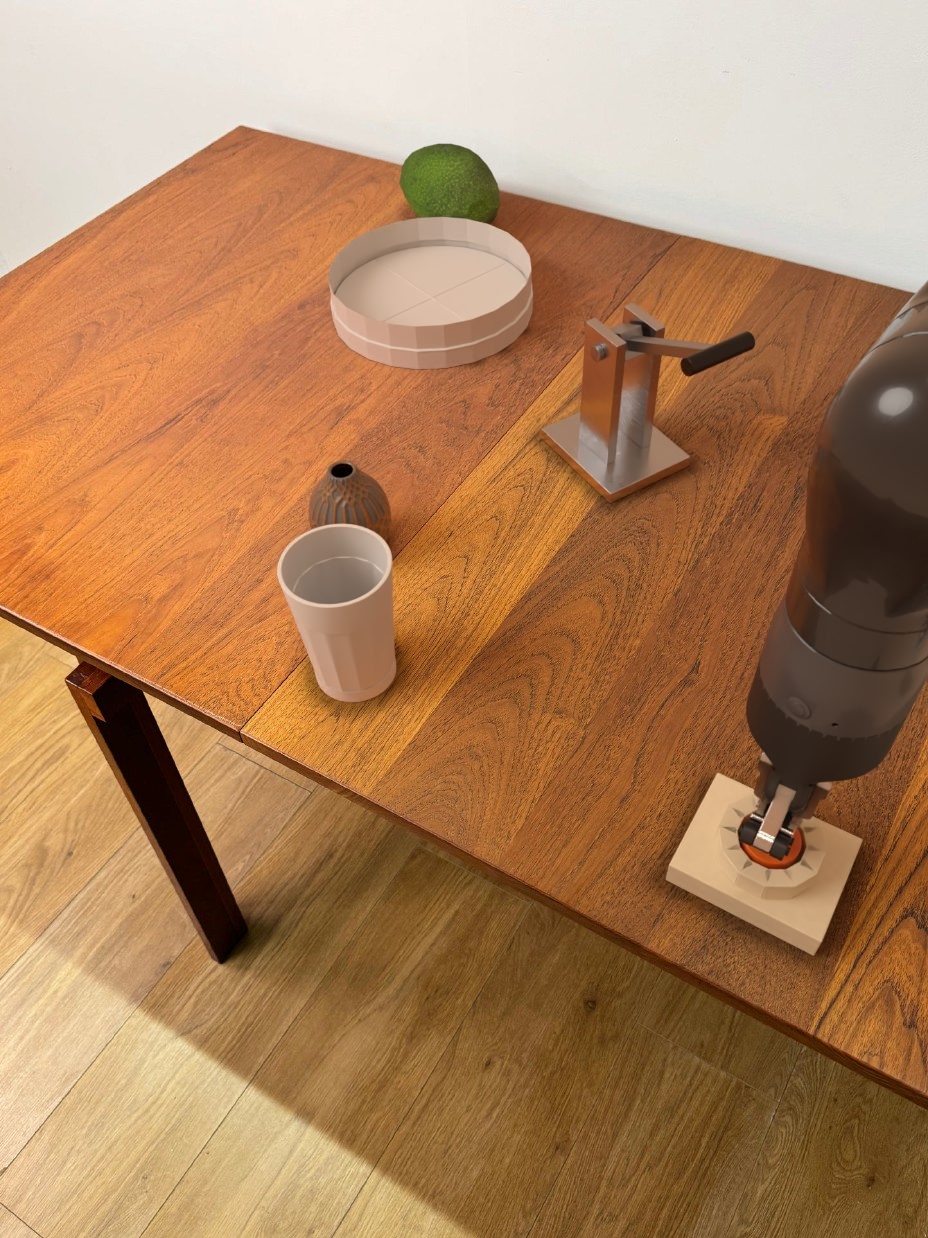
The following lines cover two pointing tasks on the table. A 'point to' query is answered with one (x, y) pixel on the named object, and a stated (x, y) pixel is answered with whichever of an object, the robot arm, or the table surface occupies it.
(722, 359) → the metal lever
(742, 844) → the power button
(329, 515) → the vase
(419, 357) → the dish
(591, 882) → the table surface
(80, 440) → the table surface
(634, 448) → the lever bracket
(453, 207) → the fruit
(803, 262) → the table surface
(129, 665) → the table surface
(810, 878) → the block
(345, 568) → the cup
